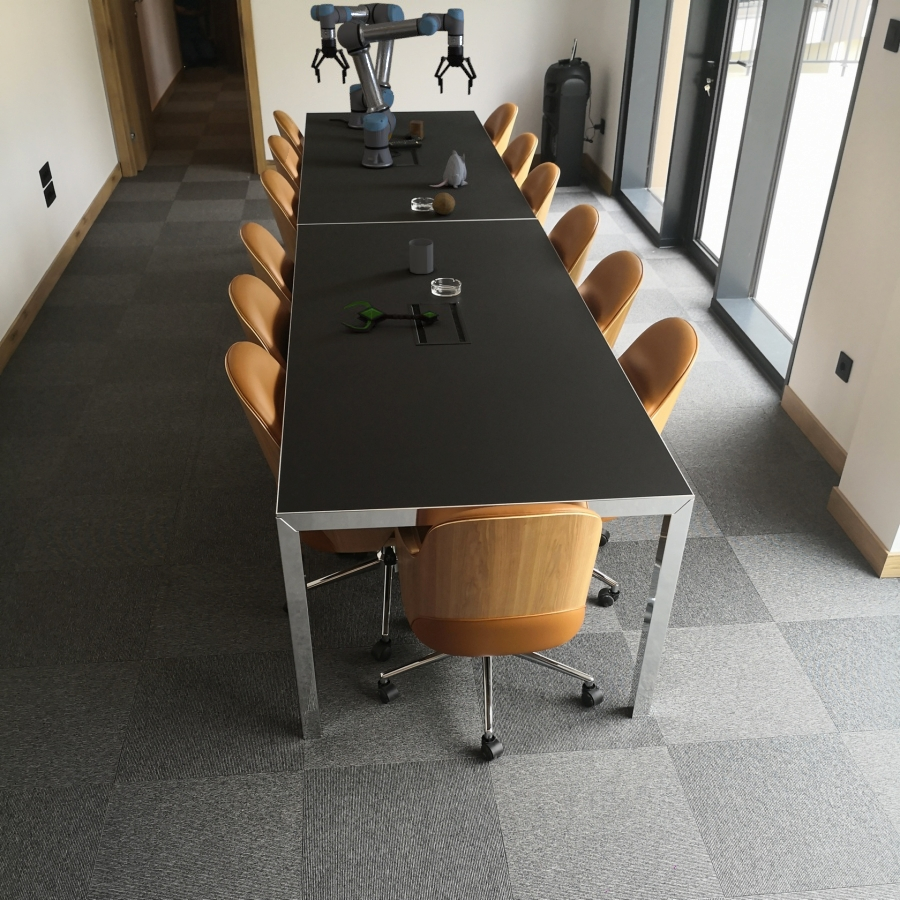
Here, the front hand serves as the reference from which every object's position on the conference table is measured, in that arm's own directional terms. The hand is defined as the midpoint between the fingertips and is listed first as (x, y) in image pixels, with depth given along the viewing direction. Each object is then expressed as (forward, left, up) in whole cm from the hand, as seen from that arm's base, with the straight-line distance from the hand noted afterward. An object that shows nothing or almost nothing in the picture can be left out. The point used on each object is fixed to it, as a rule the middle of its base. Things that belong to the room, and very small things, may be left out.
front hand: (455, 93), depth 417 cm
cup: (+131, +74, -32) cm, 154 cm away
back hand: (+4, -75, -2) cm, 75 cm away
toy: (+41, +24, -32) cm, 57 cm away
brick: (-28, -44, -32) cm, 61 cm away
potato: (+73, +44, -32) cm, 91 cm away
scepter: (+174, +93, -32) cm, 200 cm away
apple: (-10, -54, -32) cm, 63 cm away
